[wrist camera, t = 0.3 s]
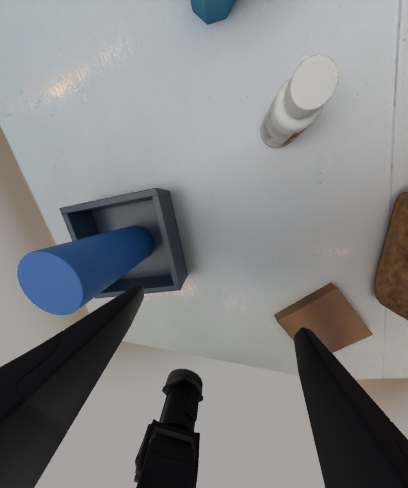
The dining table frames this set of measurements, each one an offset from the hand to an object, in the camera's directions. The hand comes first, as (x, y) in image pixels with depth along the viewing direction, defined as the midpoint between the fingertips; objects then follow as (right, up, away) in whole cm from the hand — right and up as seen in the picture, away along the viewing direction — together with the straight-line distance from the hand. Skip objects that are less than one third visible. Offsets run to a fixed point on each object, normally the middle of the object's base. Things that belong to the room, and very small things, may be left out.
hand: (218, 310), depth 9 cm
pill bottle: (+8, +18, +11) cm, 23 cm away
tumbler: (-11, +4, +16) cm, 20 cm away
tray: (-11, +4, +17) cm, 21 cm away
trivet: (+18, -9, +17) cm, 26 cm away
